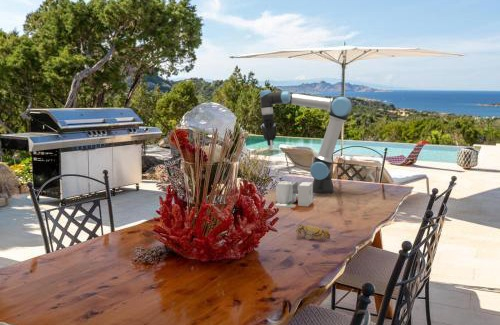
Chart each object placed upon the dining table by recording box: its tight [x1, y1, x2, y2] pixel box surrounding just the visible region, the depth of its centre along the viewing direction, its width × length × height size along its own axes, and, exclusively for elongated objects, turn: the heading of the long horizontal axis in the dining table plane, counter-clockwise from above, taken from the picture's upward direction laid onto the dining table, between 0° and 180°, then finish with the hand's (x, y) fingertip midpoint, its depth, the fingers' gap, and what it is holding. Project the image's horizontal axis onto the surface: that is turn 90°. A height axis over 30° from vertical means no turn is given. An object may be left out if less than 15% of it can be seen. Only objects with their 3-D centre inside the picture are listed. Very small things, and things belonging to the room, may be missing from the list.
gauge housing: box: [274, 181, 314, 209], centre depth 273 cm, size 18×18×12 cm
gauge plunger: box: [288, 181, 298, 205], centre depth 272 cm, size 10×18×12 cm, turn 161°
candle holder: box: [275, 180, 293, 204], centre depth 278 cm, size 10×10×12 cm
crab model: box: [295, 224, 331, 242], centre depth 207 cm, size 16×13×6 cm
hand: (271, 150), depth 305 cm, fingers closed
